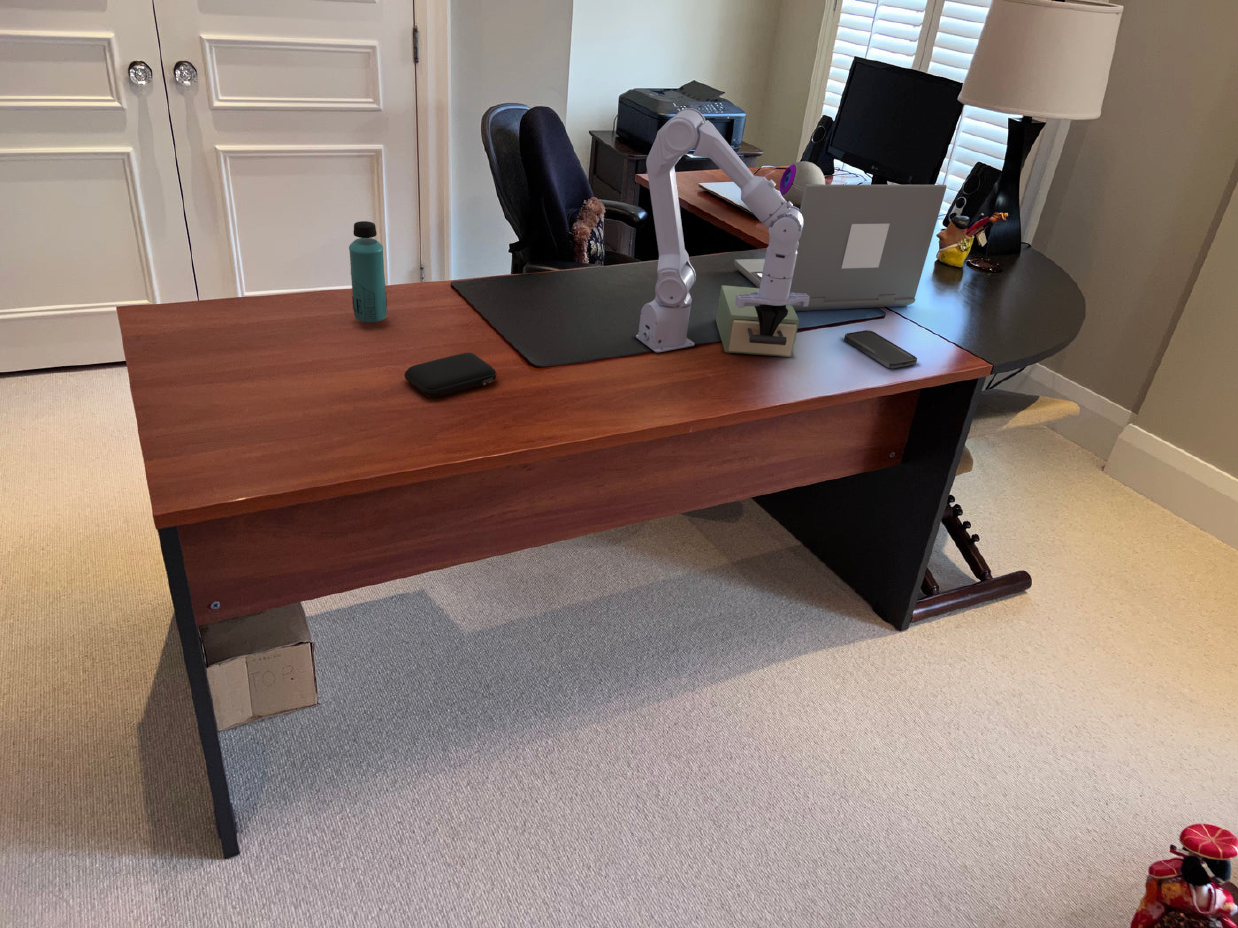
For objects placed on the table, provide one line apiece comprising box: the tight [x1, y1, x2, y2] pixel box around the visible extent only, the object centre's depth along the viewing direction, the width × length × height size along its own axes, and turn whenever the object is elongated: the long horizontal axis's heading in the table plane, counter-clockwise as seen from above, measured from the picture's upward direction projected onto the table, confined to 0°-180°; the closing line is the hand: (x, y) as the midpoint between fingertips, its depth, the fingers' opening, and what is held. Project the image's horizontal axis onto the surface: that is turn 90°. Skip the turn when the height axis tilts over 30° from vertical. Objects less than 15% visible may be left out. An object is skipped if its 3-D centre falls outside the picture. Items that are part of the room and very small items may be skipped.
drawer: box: [729, 319, 796, 355], centre depth 183 cm, size 20×12×6 cm, turn 2°
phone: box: [843, 329, 918, 370], centre depth 189 cm, size 8×1×15 cm
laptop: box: [733, 183, 948, 312], centre depth 210 cm, size 35×26×28 cm
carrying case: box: [404, 352, 498, 399], centre depth 159 cm, size 11×3×15 cm
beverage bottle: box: [348, 220, 388, 323], centre depth 172 cm, size 6×7×20 cm
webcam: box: [779, 160, 826, 211], centre depth 264 cm, size 13×13×15 cm
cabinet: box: [715, 284, 800, 358], centre depth 187 cm, size 16×14×8 cm
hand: (765, 340), depth 177 cm, fingers closed, pressing on drawer
